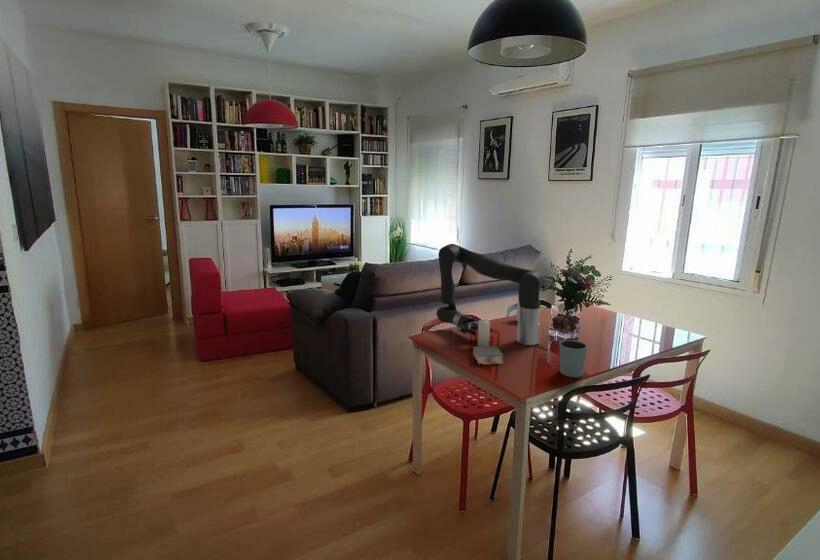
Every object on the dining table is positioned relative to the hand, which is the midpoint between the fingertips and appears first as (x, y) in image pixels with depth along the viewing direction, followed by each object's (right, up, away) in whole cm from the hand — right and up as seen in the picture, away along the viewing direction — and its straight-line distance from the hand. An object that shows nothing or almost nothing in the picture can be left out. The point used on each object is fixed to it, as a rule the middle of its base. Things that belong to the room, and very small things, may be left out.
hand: (483, 332), depth 205 cm
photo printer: (+29, +1, +37) cm, 47 cm away
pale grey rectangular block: (0, -7, +1) cm, 7 cm away
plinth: (0, -10, -14) cm, 17 cm away
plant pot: (+30, -13, -27) cm, 42 cm away
